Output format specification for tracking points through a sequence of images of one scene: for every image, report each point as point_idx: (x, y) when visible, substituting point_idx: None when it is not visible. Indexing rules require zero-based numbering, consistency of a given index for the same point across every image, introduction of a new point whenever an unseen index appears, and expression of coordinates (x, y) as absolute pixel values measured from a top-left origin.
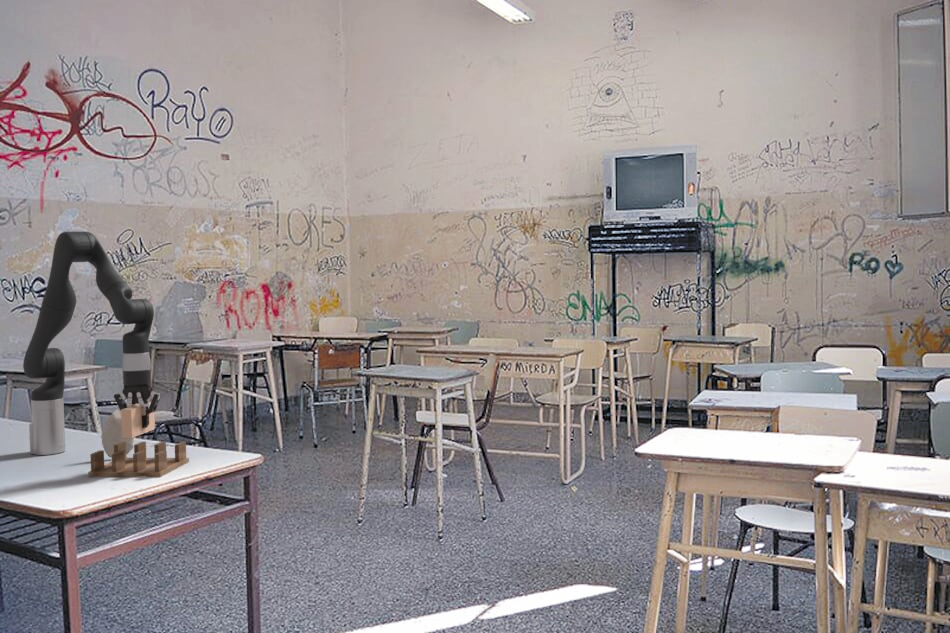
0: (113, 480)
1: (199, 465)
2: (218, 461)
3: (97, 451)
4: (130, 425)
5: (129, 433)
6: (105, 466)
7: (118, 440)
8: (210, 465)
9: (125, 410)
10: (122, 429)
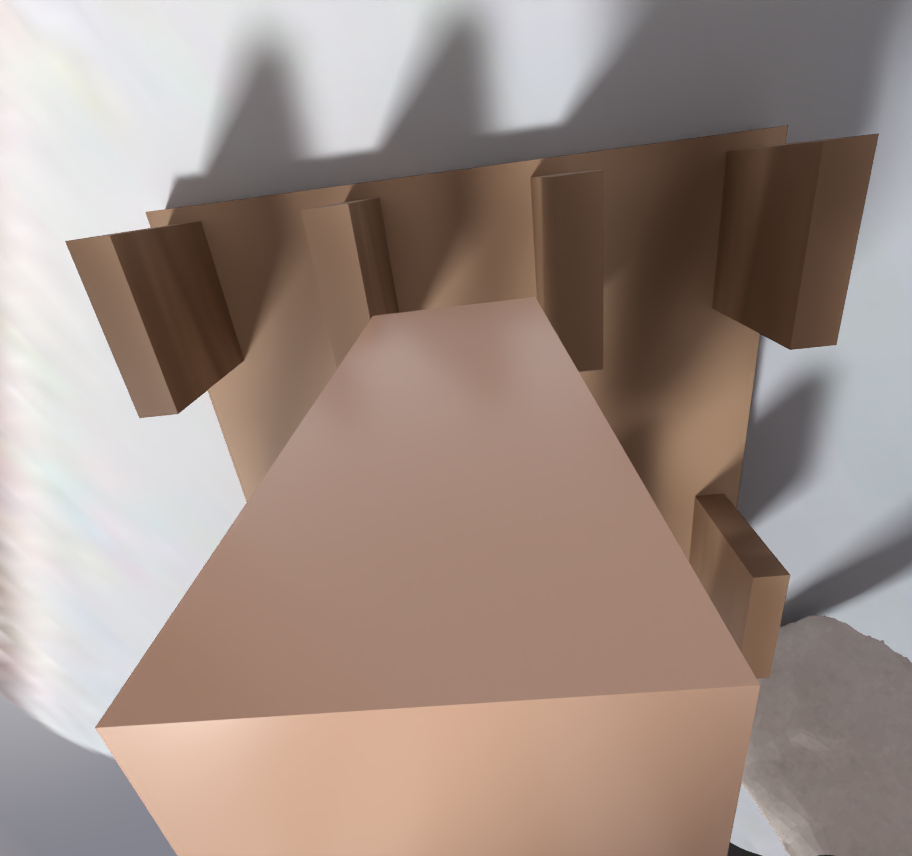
0: (466, 17)
1: (171, 542)
2: (143, 629)
3: (842, 292)
4: (354, 377)
5: (406, 329)
6: (722, 349)
7: (831, 728)
8: (108, 549)
9: (457, 661)
10: (538, 333)
